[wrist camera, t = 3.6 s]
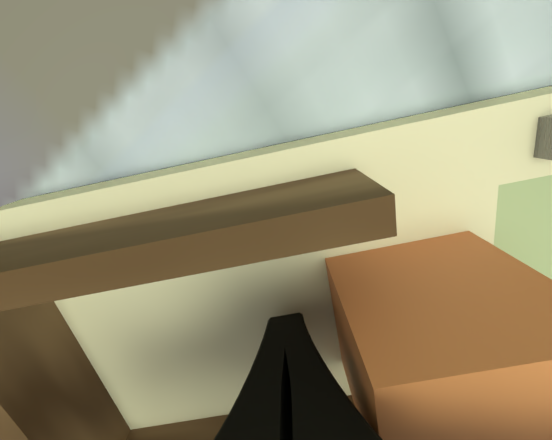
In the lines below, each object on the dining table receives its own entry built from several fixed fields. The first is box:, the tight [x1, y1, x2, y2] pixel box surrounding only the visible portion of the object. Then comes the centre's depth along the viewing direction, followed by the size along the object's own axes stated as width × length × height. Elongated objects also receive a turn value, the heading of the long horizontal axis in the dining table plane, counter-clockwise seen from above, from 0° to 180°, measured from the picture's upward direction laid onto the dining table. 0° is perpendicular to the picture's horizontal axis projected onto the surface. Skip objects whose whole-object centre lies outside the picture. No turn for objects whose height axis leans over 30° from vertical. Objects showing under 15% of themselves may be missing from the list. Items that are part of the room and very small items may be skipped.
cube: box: [325, 231, 552, 440], centre depth 8 cm, size 5×5×5 cm
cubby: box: [0, 168, 397, 440], centre depth 10 cm, size 11×12×3 cm
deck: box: [0, 86, 552, 430], centre depth 12 cm, size 18×26×2 cm
